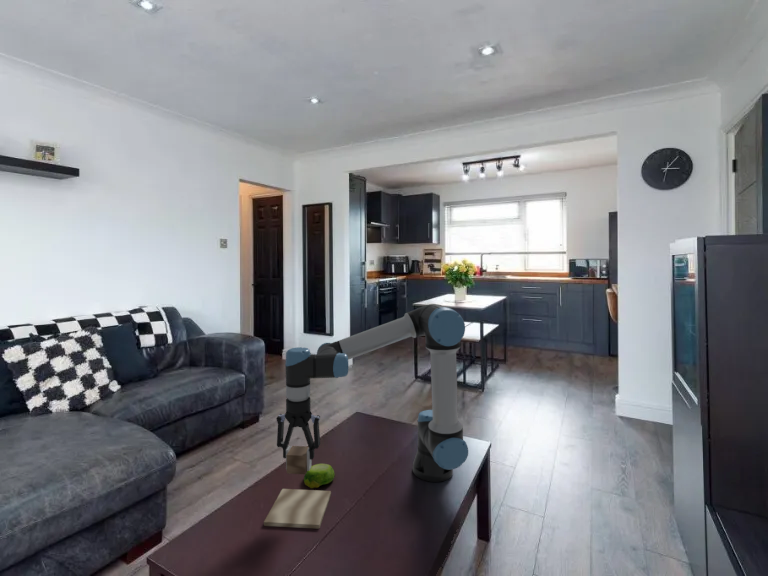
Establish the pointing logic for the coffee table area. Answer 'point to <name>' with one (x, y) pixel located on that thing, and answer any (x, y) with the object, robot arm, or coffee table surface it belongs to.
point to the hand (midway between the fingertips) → (298, 467)
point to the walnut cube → (297, 460)
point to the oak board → (298, 509)
